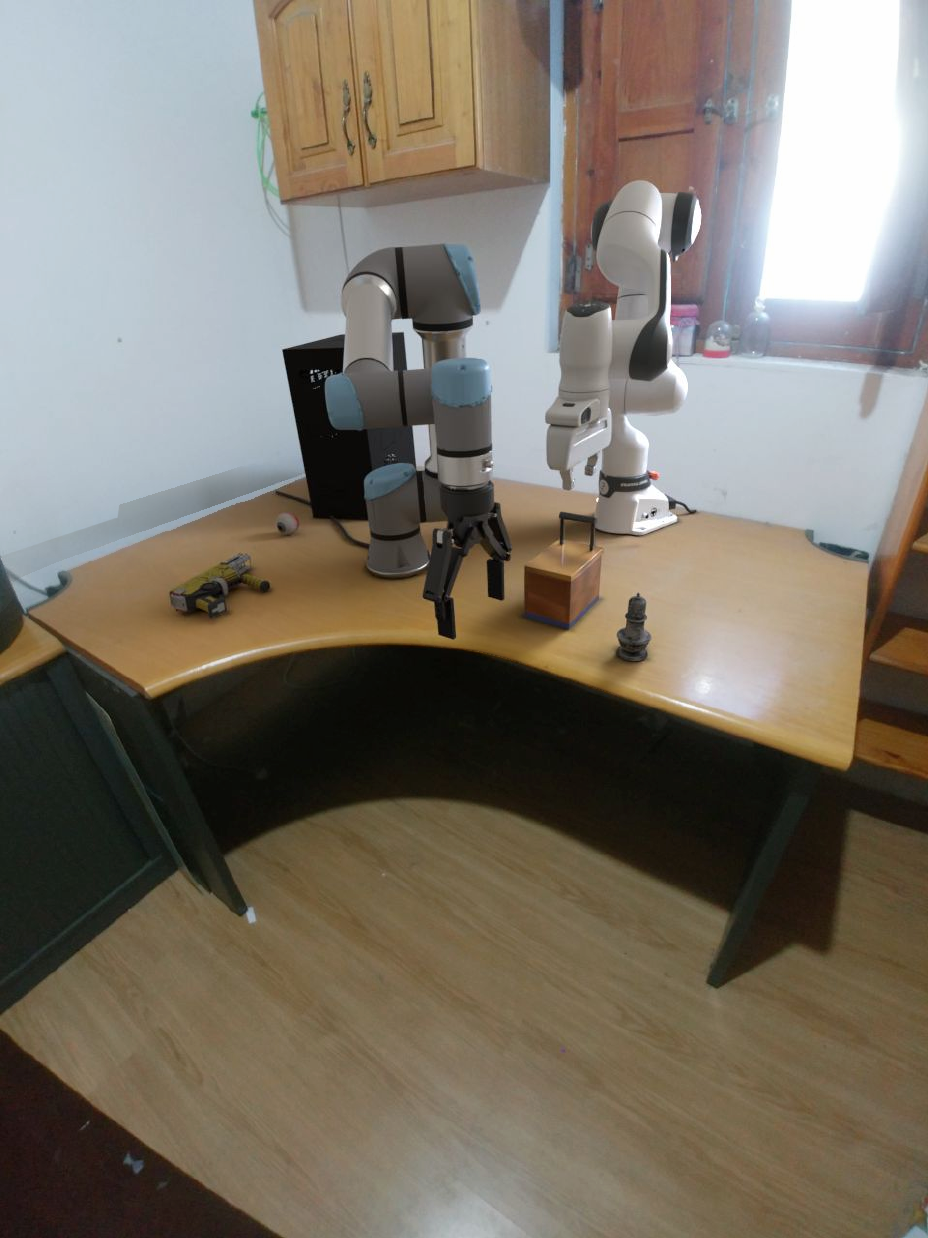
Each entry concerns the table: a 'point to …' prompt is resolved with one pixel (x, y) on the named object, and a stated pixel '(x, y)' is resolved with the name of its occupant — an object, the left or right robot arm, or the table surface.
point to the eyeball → (287, 523)
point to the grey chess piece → (634, 631)
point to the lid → (566, 553)
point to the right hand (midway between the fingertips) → (579, 481)
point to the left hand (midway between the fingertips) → (473, 616)
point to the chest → (561, 596)
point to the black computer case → (339, 431)
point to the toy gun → (214, 587)
